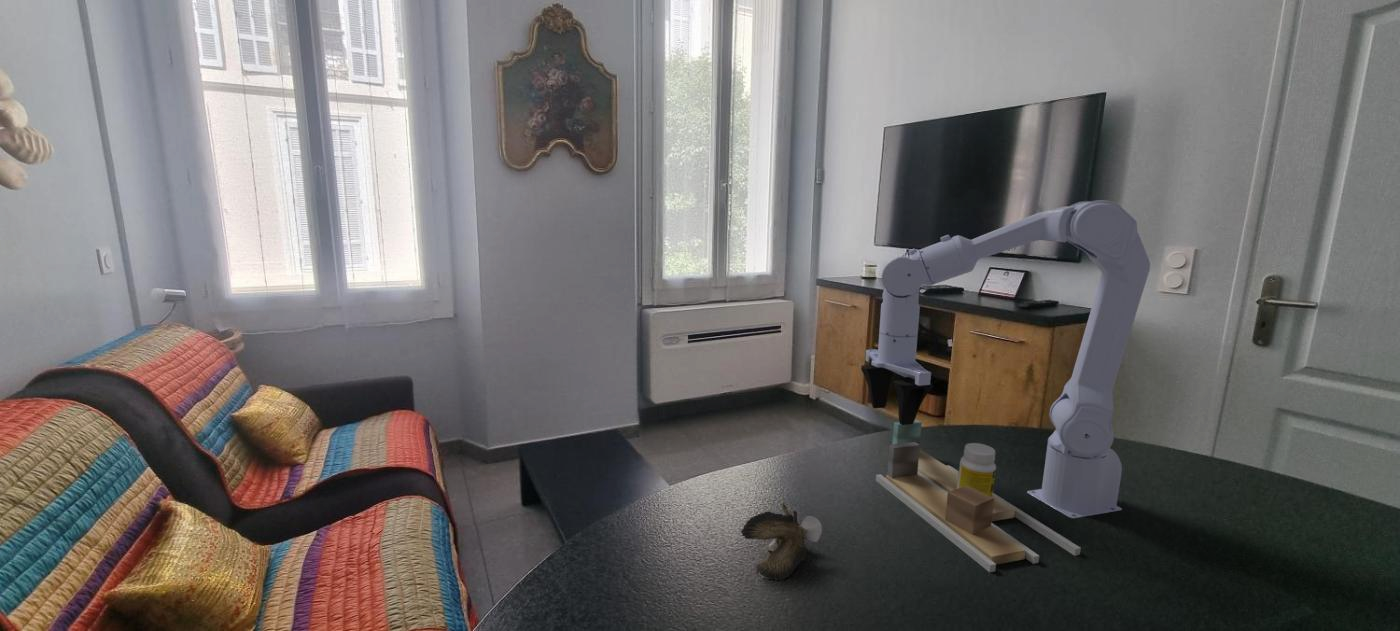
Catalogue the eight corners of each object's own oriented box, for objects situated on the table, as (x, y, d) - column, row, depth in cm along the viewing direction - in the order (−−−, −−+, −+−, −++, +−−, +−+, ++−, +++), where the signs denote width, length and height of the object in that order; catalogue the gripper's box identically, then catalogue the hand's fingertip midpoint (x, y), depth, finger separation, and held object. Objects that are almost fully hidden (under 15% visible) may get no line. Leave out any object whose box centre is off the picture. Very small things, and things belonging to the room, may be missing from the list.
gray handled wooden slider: (913, 478, 91) (916, 441, 90) (1024, 559, 70) (1030, 512, 69) (885, 482, 90) (888, 445, 89) (991, 565, 69) (996, 518, 68)
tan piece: (915, 453, 101) (918, 419, 99) (1014, 517, 80) (1019, 476, 79) (890, 456, 99) (893, 422, 98) (984, 522, 78) (989, 480, 77)
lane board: (948, 473, 94) (949, 465, 94) (1079, 558, 71) (1080, 547, 71) (875, 483, 91) (876, 474, 90) (989, 576, 68) (990, 565, 68)
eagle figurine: (765, 522, 77) (727, 539, 70) (796, 487, 75) (760, 502, 67) (803, 570, 73) (767, 594, 66) (838, 536, 71) (803, 557, 64)
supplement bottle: (995, 512, 81) (1003, 458, 79) (960, 508, 82) (966, 454, 80) (985, 494, 86) (992, 443, 84) (952, 491, 87) (958, 440, 85)
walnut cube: (963, 512, 79) (966, 485, 78) (991, 526, 75) (994, 498, 75) (945, 520, 77) (947, 492, 76) (972, 534, 73) (975, 505, 73)
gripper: (851, 325, 96) (847, 402, 98) (904, 345, 82) (897, 434, 85) (888, 323, 98) (882, 399, 100) (945, 342, 84) (937, 430, 87)
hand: (892, 415), depth 93 cm, fingers open, 7 cm apart
